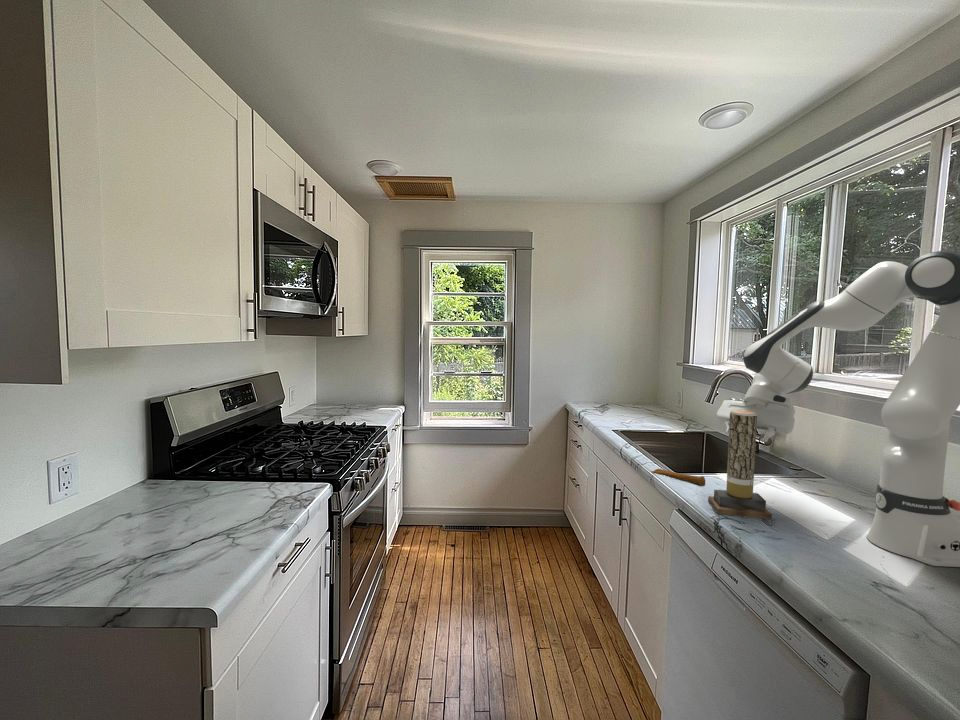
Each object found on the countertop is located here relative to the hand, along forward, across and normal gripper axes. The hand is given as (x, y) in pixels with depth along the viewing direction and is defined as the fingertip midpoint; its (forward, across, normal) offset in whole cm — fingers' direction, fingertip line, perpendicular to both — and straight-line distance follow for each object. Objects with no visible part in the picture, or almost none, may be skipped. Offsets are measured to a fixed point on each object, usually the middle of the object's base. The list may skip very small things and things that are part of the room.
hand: (745, 437), depth 128 cm
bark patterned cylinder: (+14, 0, +11) cm, 18 cm away
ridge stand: (+17, 0, +14) cm, 22 cm away
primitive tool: (+8, -26, +23) cm, 36 cm away
